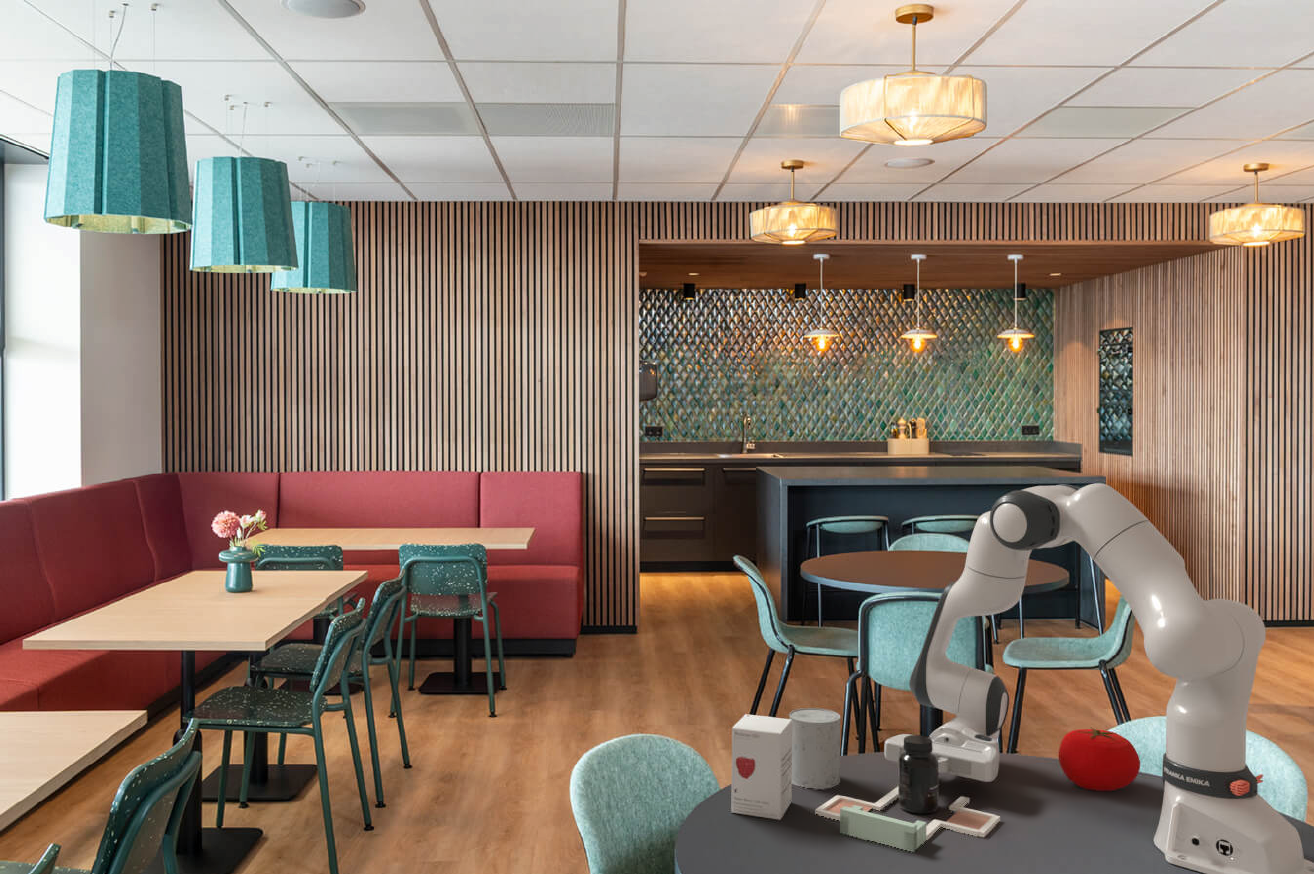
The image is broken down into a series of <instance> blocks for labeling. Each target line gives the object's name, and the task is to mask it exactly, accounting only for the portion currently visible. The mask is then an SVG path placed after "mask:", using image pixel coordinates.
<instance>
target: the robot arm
mask: <svg viewBox="0 0 1314 874" xmlns="http://www.w3.org/2000/svg"><path fill="white" fill-rule="evenodd" d="M970 536H971V537H970V540H969V544H968V547H967V548H968V549H967V554H966V559H965V564H964V569H963V571H962V573H961V575H960V577H959V579H958V580H956V581H953V582H950V583H949V584H948V585H947V586H946V587H945V588H944V590H943V591H942V593H941V594H940V597H939V599H938V602H937V605H936V607H935V610H934V612H933V615H932V618H931V621H930V624H929V626H928V630H927V633H926V636H925V638H924V642H923V644H922V648H921V650H920V654H919V656H918V657H917V660H916V662H915V665H914V667H913V668H912V671H911V674H910V678H909V683H908V684H909V685H908V686H909V688H910V691H911V693H912V695H913V696H914V698H915V700H916V701H917V702H918V703H919V704H920V705H921V706H926V707H931V708H933V709H939V710H942V711H945V712H947V713H950V714H953V715H955V716H956V717H954V718H952V719H950V721H948V722H946V723H945V724H942V725H941V726H939V727H938V728H936V729H935V730H933V731H932V733H930V735H929V737H928V738H930V739H931V740H932V748H933V751H932V752H931V753H932V754H934V755H935V756H936V758H937V759H938V774H940V773H944V774H948V775H954V776H958V777H962V778H967V779H971V780H975V781H981V782H985V783H988V782H989V783H990V782H992V781H994V780H995V779H996V778H997V776H998V774H999V767H1000V747H999V741H998V739H999V735H1000V730H1001V729H1002V728H1003V727H1004V724H1005V723H1006V719H1007V716H1008V712H1009V706H1010V695H1009V693H1008V690H1007V687H1006V685H1005V683H1004V682H1003V679H1001V677H1000V676H999V675H995V674H993V673H990V672H987V671H983V670H981V669H978V668H974V667H970V666H967V665H965V664H962V663H958V662H955V661H953V660H951V659H950V658H949V657H948V656H947V651H948V648H949V645H950V641H951V639H952V636H953V633H954V631H955V627H956V625H957V623H958V621H959V620H960V619H963V618H969V617H979V616H980V617H981V616H982V617H983V616H993V615H997V614H1000V613H1004V612H1006V611H1009V610H1010V609H1012V608H1014V606H1015V605H1017V604H1018V603H1019V602H1020V600H1021V598H1022V595H1023V592H1024V588H1025V583H1026V579H1027V573H1028V566H1029V560H1030V559H1029V558H1030V556H1031V553H1032V551H1033V550H1036V549H1045V548H1050V549H1051V548H1055V547H1059V546H1062V545H1066V544H1068V543H1073V542H1076V543H1077V544H1079V545H1080V546H1081V547H1082V548H1083V549H1084V550H1085V552H1086V554H1088V555H1089V557H1090V558H1091V559H1092V561H1094V563H1095V564H1096V565H1097V567H1098V568H1099V569H1100V570H1101V571H1102V572H1103V574H1104V575H1105V576H1106V578H1107V579H1108V580H1109V581H1110V582H1111V584H1113V586H1114V587H1115V588H1116V590H1117V591H1118V592H1119V593H1120V594H1121V596H1122V597H1123V599H1124V600H1125V601H1126V603H1127V605H1128V606H1129V608H1130V610H1131V611H1132V614H1133V615H1134V617H1135V619H1136V621H1137V624H1138V625H1139V628H1140V630H1141V631H1142V634H1143V647H1144V651H1145V655H1146V656H1147V658H1148V660H1149V661H1150V664H1151V665H1152V666H1153V667H1154V668H1155V669H1156V670H1157V671H1158V672H1160V673H1162V674H1163V675H1165V676H1168V677H1170V678H1173V679H1176V682H1175V686H1174V689H1173V691H1172V694H1171V696H1170V698H1169V700H1168V702H1167V705H1166V716H1165V717H1166V719H1165V720H1166V721H1165V722H1166V723H1165V725H1166V726H1165V753H1163V757H1162V784H1163V788H1164V790H1163V797H1162V806H1161V811H1160V817H1159V821H1158V825H1157V828H1156V831H1155V834H1154V836H1153V843H1154V845H1155V846H1156V847H1157V848H1158V849H1159V850H1160V851H1161V852H1162V853H1163V854H1164V858H1165V861H1166V862H1168V863H1169V864H1172V865H1175V866H1177V867H1178V866H1179V867H1182V868H1186V869H1188V870H1193V871H1197V872H1199V873H1201V874H1202V873H1203V874H1314V862H1312V861H1310V860H1308V859H1306V858H1305V857H1304V851H1303V844H1302V840H1301V838H1300V834H1299V831H1298V830H1297V828H1296V827H1295V826H1294V825H1293V824H1291V823H1290V822H1289V821H1288V820H1287V819H1286V818H1285V817H1284V816H1283V815H1281V813H1279V811H1277V810H1276V809H1275V808H1274V807H1273V806H1272V805H1271V804H1270V803H1269V802H1267V800H1266V799H1264V798H1263V797H1262V795H1260V793H1258V791H1259V790H1258V789H1259V787H1258V784H1261V783H1263V782H1264V780H1263V777H1264V775H1263V774H1261V773H1260V774H1258V775H1256V776H1255V774H1254V773H1252V771H1251V770H1250V767H1249V766H1248V764H1246V761H1247V760H1246V756H1247V753H1246V752H1247V721H1248V720H1247V718H1248V711H1249V710H1248V709H1249V704H1250V699H1251V695H1252V691H1253V688H1254V686H1253V685H1254V681H1255V676H1256V671H1257V665H1258V661H1259V656H1260V653H1261V650H1262V648H1263V646H1264V644H1265V641H1266V638H1267V637H1266V635H1267V633H1266V627H1265V623H1264V621H1263V619H1262V618H1261V616H1260V614H1259V613H1257V611H1256V610H1254V609H1253V608H1252V607H1251V606H1249V605H1248V604H1246V603H1243V602H1240V601H1236V600H1233V599H1226V598H1213V599H1208V600H1205V599H1204V598H1202V596H1201V595H1200V594H1199V592H1198V591H1197V589H1196V588H1195V586H1194V583H1193V582H1192V580H1191V579H1190V577H1189V575H1188V573H1187V570H1186V563H1185V560H1184V558H1183V556H1182V555H1181V554H1180V553H1179V552H1178V551H1177V550H1176V548H1175V547H1174V546H1173V545H1172V544H1171V543H1170V542H1169V540H1167V539H1166V538H1165V536H1164V535H1163V534H1162V533H1161V531H1159V530H1158V529H1157V527H1156V526H1155V525H1154V524H1153V523H1152V522H1151V521H1150V520H1149V518H1148V517H1146V515H1144V514H1143V512H1142V511H1140V509H1138V507H1136V506H1135V505H1134V504H1133V503H1132V501H1130V500H1129V499H1127V498H1126V496H1124V495H1122V494H1121V493H1120V492H1119V491H1117V490H1116V489H1114V488H1113V487H1112V486H1110V485H1108V484H1105V483H1099V482H1098V483H1096V482H1095V483H1091V484H1088V485H1085V486H1082V487H1079V486H1077V485H1072V484H1066V483H1063V484H1056V485H1037V486H1032V487H1027V488H1024V489H1019V490H1012V491H1009V492H1008V493H1006V494H1004V495H1002V496H1001V497H1000V498H998V499H997V500H995V503H993V505H992V507H991V508H990V510H989V511H986V512H984V513H982V514H981V515H980V516H979V517H978V519H977V521H976V523H975V525H974V528H973V530H972V533H971V535H970ZM910 735H911V734H908V733H903V734H902V733H900V734H898V735H895V736H891V737H890V738H887V739H885V741H884V749H883V751H884V753H883V754H884V758H885V759H886V760H887V761H891V762H894V763H898V758H899V756H900V754H901V753H902V752H904V751H905V750H904V749H903V746H904V738H905V737H907V736H910Z"/></svg>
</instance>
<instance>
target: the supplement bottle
mask: <svg viewBox="0 0 1314 874" xmlns="http://www.w3.org/2000/svg"><path fill="white" fill-rule="evenodd" d="M903 749H904V750H905V751H904V752H902V753H901V754H900V756H899V758H898V762H897V766H898V768H897V769H898V770H897V773H898V774H897V778H898V779H897V780H898V781H897V782H898V783H897V784H898V785H897V787H898V797H899V798H898V805H899V807H900V808H901V809H902V810H904V811H906V812H908V813H911V814H912V813H913V814H916V813H917V814H919V815H922V814H923V815H925V814H926V815H927V813H928V814H932V813H934V812H936V811H937V810H938V808H939V803H940V802H939V801H940V799H939V789H940V788H939V773H938V759H937V758H936V756H935V755H934V754H932V753H931V752H932V751H933V748H932V740H931V739H930V738H929V737H928V736H925V735H919V734H910V736H907V737H905V738H904V746H903ZM917 814H916V815H917Z"/></svg>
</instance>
